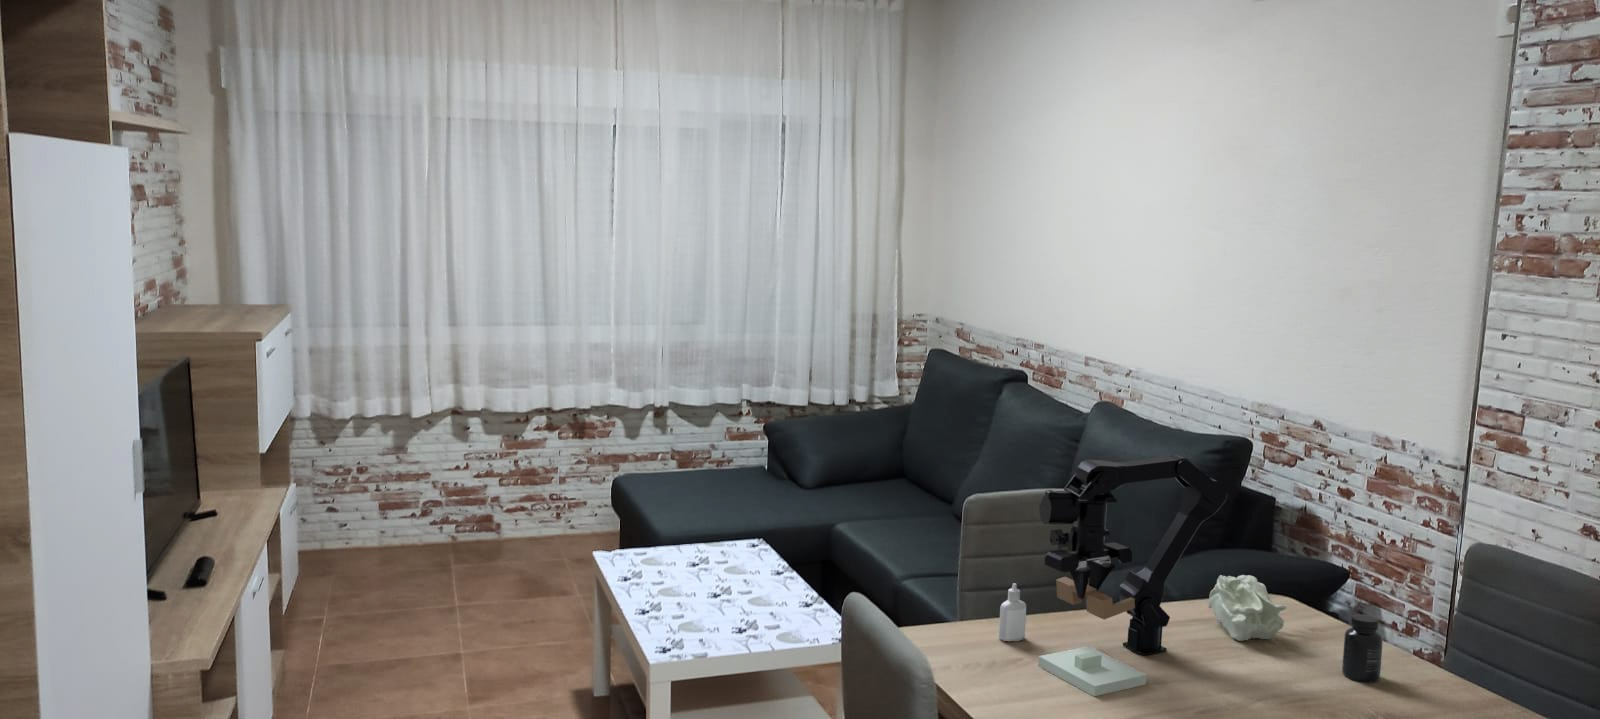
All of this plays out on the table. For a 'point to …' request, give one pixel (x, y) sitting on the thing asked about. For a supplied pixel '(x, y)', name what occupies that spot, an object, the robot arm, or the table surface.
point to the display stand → (1092, 670)
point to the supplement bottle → (1362, 649)
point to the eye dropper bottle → (1012, 617)
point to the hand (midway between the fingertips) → (1086, 597)
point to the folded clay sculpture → (1245, 608)
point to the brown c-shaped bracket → (1092, 599)
